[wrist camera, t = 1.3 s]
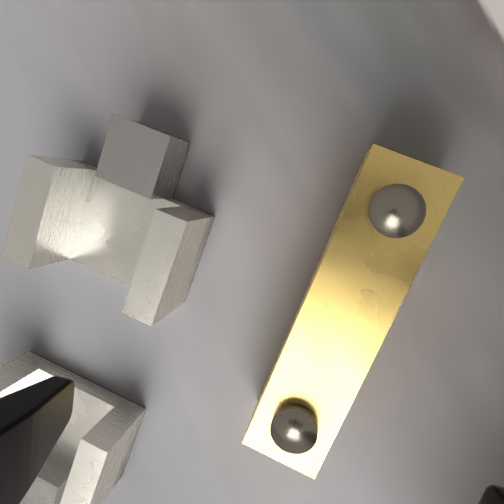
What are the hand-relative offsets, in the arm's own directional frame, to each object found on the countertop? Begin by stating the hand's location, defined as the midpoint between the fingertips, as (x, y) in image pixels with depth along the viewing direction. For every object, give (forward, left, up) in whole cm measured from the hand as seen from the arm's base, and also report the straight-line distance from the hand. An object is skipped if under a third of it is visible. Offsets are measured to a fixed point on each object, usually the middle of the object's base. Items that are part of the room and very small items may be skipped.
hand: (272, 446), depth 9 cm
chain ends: (+10, +6, -12) cm, 17 cm away
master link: (-1, -1, -12) cm, 13 cm away
